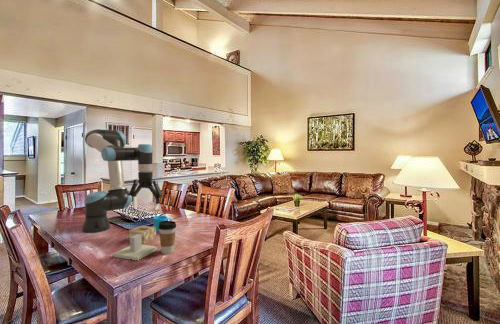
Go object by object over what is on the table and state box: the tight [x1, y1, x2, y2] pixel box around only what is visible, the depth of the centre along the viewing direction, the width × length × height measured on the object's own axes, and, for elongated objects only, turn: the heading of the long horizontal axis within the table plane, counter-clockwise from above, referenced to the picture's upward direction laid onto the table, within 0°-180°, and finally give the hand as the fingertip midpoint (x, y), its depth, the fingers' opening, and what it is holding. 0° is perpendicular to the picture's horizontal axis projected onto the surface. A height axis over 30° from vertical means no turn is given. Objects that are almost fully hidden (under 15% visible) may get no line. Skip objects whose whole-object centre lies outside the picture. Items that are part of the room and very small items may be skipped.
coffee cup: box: [158, 220, 177, 255], centre depth 129 cm, size 8×8×15 cm
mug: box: [153, 215, 173, 233], centre depth 164 cm, size 12×8×8 cm
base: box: [113, 234, 158, 261], centre depth 127 cm, size 14×14×8 cm
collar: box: [128, 225, 157, 244], centre depth 146 cm, size 10×10×6 cm
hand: (145, 208), depth 147 cm, fingers open, 13 cm apart
